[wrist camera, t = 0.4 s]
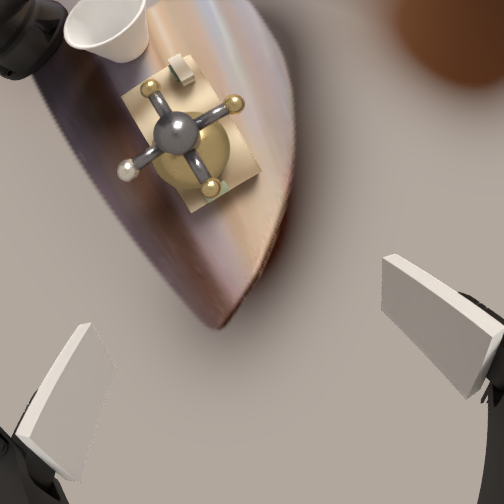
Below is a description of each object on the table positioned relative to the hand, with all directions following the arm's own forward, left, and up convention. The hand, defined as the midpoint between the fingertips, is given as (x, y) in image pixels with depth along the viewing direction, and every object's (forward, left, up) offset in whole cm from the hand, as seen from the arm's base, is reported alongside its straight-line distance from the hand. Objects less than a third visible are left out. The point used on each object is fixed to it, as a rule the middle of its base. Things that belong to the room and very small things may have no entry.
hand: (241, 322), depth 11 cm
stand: (-12, +2, -27) cm, 29 cm away
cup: (-29, +1, -27) cm, 39 cm away
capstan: (-11, +1, -24) cm, 26 cm away
